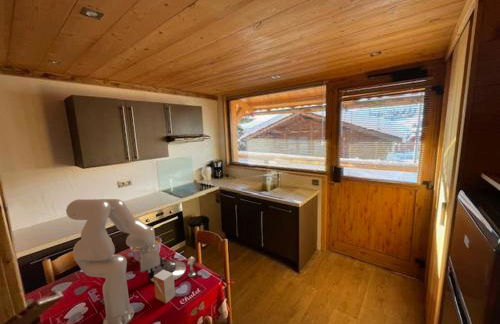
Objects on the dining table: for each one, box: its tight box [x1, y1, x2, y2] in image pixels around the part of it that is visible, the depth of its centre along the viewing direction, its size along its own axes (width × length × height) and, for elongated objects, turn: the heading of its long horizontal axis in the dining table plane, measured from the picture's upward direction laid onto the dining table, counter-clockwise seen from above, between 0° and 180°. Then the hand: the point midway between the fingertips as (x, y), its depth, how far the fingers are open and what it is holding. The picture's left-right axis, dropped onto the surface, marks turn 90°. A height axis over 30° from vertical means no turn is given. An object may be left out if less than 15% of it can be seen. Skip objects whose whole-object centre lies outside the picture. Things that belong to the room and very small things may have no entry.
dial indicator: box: [187, 256, 197, 278], centre depth 131 cm, size 4×4×12 cm
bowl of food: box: [129, 236, 162, 263], centre depth 151 cm, size 20×20×12 cm
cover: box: [164, 259, 177, 273], centre depth 135 cm, size 7×7×5 cm
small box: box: [153, 270, 176, 304], centre depth 113 cm, size 8×6×13 cm
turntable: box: [149, 256, 187, 283], centre depth 134 cm, size 21×21×6 cm
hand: (151, 277), depth 127 cm, fingers closed
